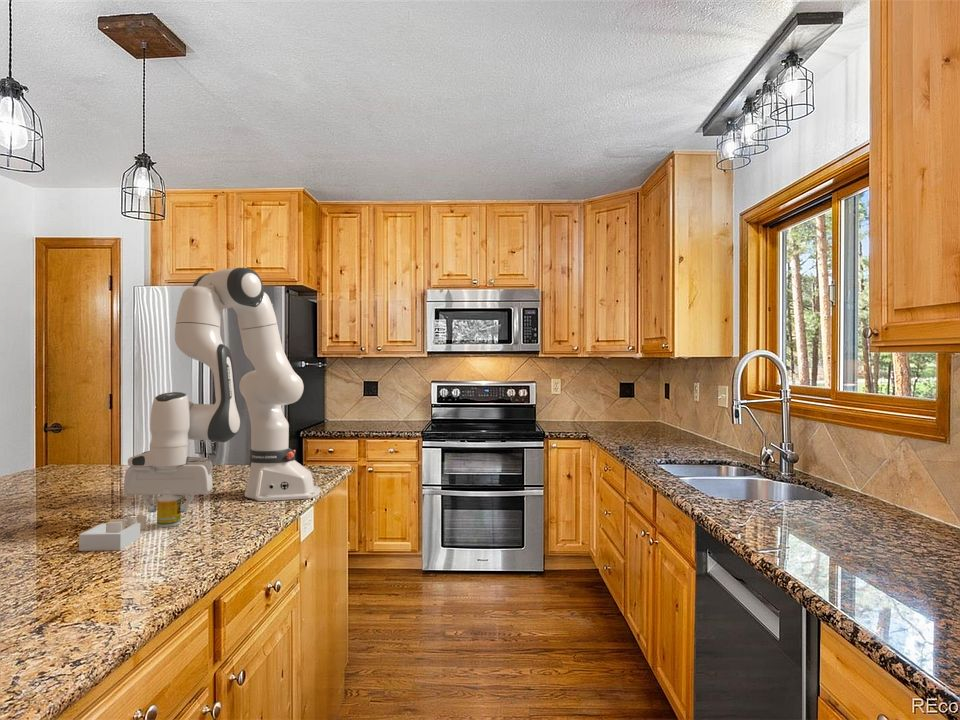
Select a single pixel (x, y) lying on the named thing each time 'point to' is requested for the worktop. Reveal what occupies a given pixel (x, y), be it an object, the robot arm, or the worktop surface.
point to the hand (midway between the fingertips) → (168, 511)
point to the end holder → (108, 538)
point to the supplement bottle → (168, 509)
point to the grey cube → (115, 525)
